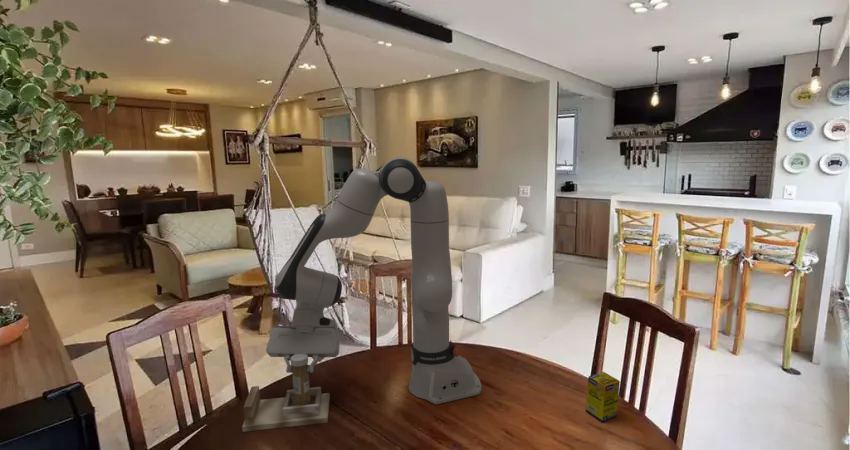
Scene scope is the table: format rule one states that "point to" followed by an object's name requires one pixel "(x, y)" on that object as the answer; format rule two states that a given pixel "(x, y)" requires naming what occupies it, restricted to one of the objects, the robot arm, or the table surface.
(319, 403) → the caddy
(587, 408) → the supplement box
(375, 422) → the table surface
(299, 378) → the sprinkles bottle
